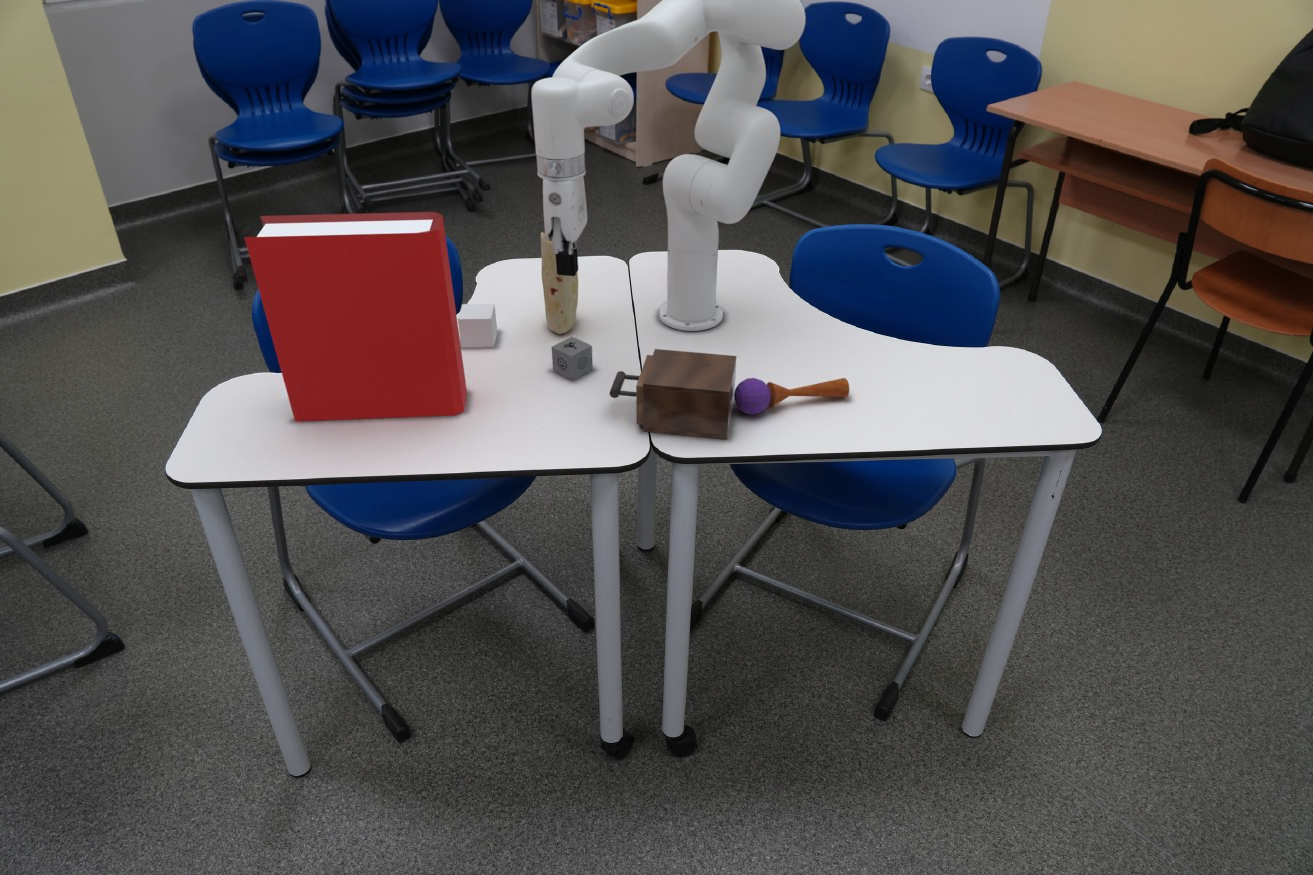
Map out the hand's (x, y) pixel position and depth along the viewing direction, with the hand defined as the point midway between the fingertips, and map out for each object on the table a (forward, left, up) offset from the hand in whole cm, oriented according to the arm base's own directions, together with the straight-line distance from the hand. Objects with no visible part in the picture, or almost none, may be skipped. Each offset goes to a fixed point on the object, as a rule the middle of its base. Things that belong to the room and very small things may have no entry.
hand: (567, 272), depth 151 cm
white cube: (-8, -20, -19) cm, 29 cm away
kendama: (+5, +39, -19) cm, 43 cm away
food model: (-16, -6, -19) cm, 26 cm away
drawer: (+11, +18, -18) cm, 28 cm away
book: (+16, -29, -19) cm, 38 cm away
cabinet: (+11, +22, -19) cm, 31 cm away
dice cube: (0, 0, -19) cm, 19 cm away
